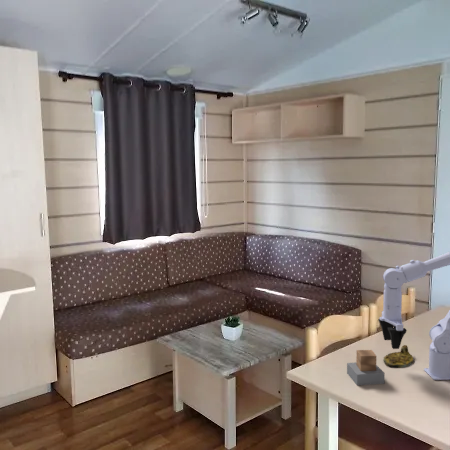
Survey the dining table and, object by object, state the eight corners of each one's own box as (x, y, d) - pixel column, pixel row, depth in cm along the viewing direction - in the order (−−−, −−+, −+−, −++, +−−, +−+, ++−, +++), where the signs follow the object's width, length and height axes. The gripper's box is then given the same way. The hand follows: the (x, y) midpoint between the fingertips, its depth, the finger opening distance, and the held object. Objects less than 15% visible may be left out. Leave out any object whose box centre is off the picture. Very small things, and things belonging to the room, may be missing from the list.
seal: (403, 374, 160) (418, 360, 171) (405, 362, 159) (420, 348, 170) (376, 364, 166) (393, 351, 177) (378, 352, 165) (394, 339, 176)
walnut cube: (371, 364, 157) (371, 349, 157) (376, 370, 152) (376, 355, 152) (356, 364, 157) (356, 350, 157) (360, 371, 152) (360, 356, 152)
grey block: (372, 372, 160) (372, 361, 159) (384, 384, 151) (384, 372, 151) (346, 374, 159) (347, 362, 159) (356, 386, 150) (357, 374, 150)
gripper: (373, 298, 164) (372, 336, 166) (388, 311, 150) (387, 352, 152) (393, 298, 164) (392, 336, 166) (410, 311, 150) (409, 352, 152)
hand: (391, 344), depth 159 cm, fingers open, 7 cm apart
